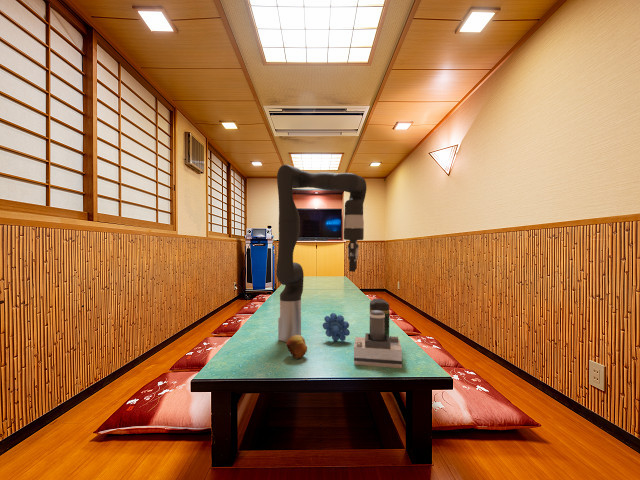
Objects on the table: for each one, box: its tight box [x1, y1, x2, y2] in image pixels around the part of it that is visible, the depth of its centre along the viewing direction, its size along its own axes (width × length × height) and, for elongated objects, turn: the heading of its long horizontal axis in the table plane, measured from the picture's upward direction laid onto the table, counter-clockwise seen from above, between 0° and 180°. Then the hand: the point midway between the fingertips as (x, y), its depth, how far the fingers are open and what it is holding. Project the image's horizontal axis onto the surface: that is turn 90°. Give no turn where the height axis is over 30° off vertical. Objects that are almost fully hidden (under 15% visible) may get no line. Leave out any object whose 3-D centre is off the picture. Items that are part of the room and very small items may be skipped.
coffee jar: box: [369, 298, 390, 336], centre depth 119 cm, size 10×8×19 cm
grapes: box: [322, 312, 351, 342], centre depth 122 cm, size 12×7×12 cm, turn 84°
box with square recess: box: [353, 332, 403, 369], centre depth 104 cm, size 16×11×8 cm
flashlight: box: [369, 310, 385, 341], centre depth 104 cm, size 5×5×11 cm
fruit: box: [285, 335, 308, 360], centre depth 106 cm, size 8×8×8 cm
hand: (353, 270), depth 109 cm, fingers open, 8 cm apart
